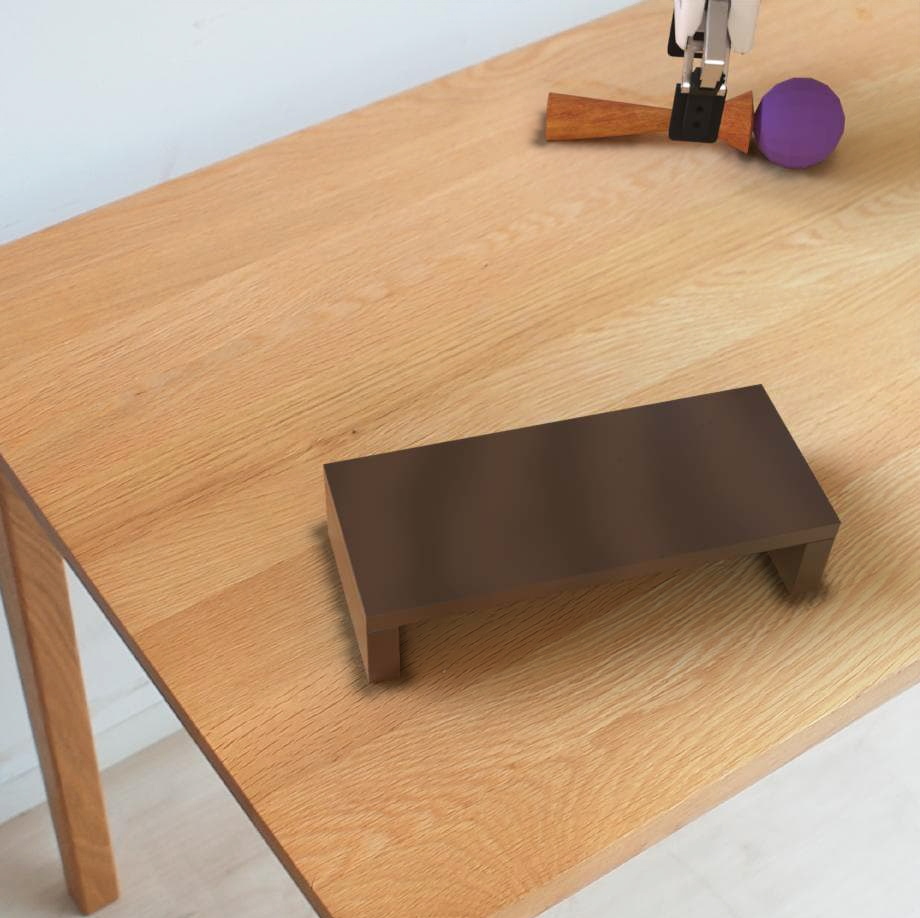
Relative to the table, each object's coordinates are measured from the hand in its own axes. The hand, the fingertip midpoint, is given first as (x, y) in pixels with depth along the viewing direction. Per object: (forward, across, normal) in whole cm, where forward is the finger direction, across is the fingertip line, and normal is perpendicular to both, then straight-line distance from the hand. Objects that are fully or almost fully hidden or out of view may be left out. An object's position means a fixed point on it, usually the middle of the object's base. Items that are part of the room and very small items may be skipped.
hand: (690, 96), depth 98 cm
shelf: (+4, -38, +6) cm, 39 cm away
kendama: (+4, 0, 0) cm, 4 cm away
